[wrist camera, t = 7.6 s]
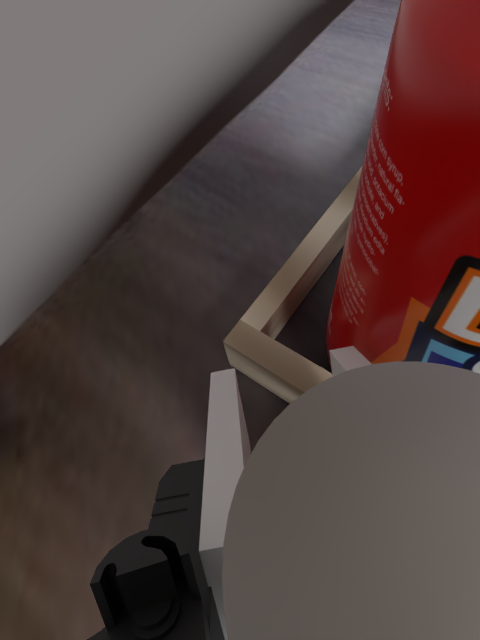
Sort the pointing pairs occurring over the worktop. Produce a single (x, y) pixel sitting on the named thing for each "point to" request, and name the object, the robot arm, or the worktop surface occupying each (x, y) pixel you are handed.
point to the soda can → (418, 200)
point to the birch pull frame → (351, 484)
